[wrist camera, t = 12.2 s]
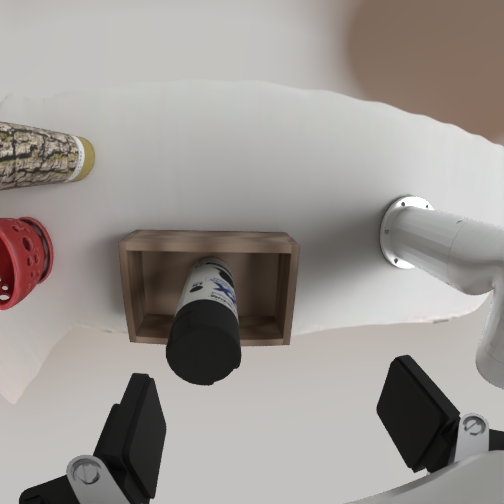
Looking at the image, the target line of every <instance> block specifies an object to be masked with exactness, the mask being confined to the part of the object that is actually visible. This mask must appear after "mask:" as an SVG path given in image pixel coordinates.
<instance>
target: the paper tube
mask: <svg viewBox="0 0 504 504" xmlns="http://www.w3.org/2000/svg"><path fill="white" fill-rule="evenodd" d="M94 159H95V153H94V149H93V147H92V145H91V143H90V142H89V141H88V140H86V139H84V138H81V137H77V136H73V135H68V134H64V133H59V132H54V131H50V130H45V129H39V128H34V127H29V126H23V125H18V124H12V123H6V122H0V190H6V189H13V188H20V187H28V186H36V185H45V184H54V183H64V182H73V181H79V180H81V179H83V178H85V177H86V176H87V175H88V174H89V172H90V171H91V169H92V167H93V164H94Z"/></svg>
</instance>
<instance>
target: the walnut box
mask: <svg viewBox="0 0 504 504" xmlns="http://www.w3.org/2000/svg"><path fill="white" fill-rule="evenodd" d="M299 249H300V245H299V244H298V243H297V242H296V241H294V240H293V239H292V238H291V237H290V236H289V235H288V234H287V233H280V232H242V231H188V230H136V231H134V232H133V233H131V234H130V235H128V236H127V237H125V238H124V239H122V240H121V241H120V242H119V257H120V269H121V280H122V289H123V297H124V305H125V313H126V320H127V326H128V333H129V339H130V342H137V343H149V344H165V345H167V342H168V338H169V334H170V331H171V327H172V324H173V320H174V316H175V313H176V310H177V307H178V304H179V300H180V298H181V295H182V291H183V288H184V285H185V282H186V279H187V276H188V273H189V271H190V269H191V267H192V266H193V265H194V264H195V263H196V262H198V261H199V260H201V259H204V258H207V257H211V258H217V259H219V260H222V261H223V262H224V263H226V264H227V266H228V267H229V268H230V270H231V271H232V274H233V280H234V285H235V286H234V289H235V298H236V306H237V314H238V322H239V335H240V346H274V345H275V346H276V345H290V336H291V328H292V319H293V311H294V301H295V292H296V282H297V271H298V260H299Z"/></svg>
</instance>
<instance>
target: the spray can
mask: <svg viewBox="0 0 504 504" xmlns="http://www.w3.org/2000/svg"><path fill="white" fill-rule="evenodd" d="M234 286H235V285H234V280H233V274H232V271H231V270H230V268H229V267H228V266H227V264H226V263H224V262H223V261H222V260H219V259H217V258H211V257H207V258H204V259H201V260H199V261H198V262H196V263H195V264H194V265H193V266H192V267H191V269H190V271H189V273H188V276H187V279H186V282H185V285H184V288H183V291H182V295H181V298H180V300H179V304H178V307H177V310H176V313H175V316H174V320H173V324H172V327H171V331H170V334H169V338H168V342H167V346H166V358H167V361H168V364H169V366H170V367H171V369H172V370H173V371H174V372H175V373H176V375H178V376H179V377H180V378H182V379H183V380H185V381H187V382H189V383H192V384H197V385H208V386H209V385H212V384H213V383H214V382H216V381H219V380H222V379H224V378H225V377H226V376H228V375H229V374H230V373H231V372H232V371H233V369H237V368H238V367H239V366H240V362H241V346H240V335H239V322H238V314H237V306H236V298H235V289H234Z"/></svg>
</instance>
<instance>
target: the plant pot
mask: <svg viewBox="0 0 504 504" xmlns="http://www.w3.org/2000/svg"><path fill="white" fill-rule="evenodd" d="M52 264H53V248H52V243H51V240H50V237H49V235H48V233H47V231H46V230H45V228H44V227H43V226H42V225H41V224H40V223H39V222H38V221H36V220H35V219H33V218H30V217H21V218H19V219H14V218H0V278H1V281H0V295H7V296H9V297H10V298H9V299H7V300H1V299H0V310H6V309H9V308H11V307H13V306H14V305H16V304H18V303H19V302H20V301H21V300H23V299H24V298H25V297H26V296H27V295H28V294H29V293H30V292H31V291H32V290H33V289H34V287H35V286H36V284H39V283H41V282H43V281H44V280H45V279H46V278H47V277H48V276H49V274H50V272H51V269H52ZM2 286H7V287H8V290H3V289H2Z"/></svg>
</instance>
